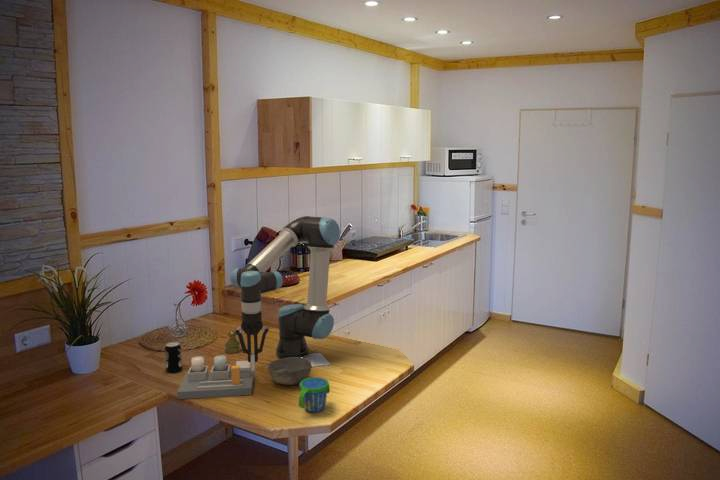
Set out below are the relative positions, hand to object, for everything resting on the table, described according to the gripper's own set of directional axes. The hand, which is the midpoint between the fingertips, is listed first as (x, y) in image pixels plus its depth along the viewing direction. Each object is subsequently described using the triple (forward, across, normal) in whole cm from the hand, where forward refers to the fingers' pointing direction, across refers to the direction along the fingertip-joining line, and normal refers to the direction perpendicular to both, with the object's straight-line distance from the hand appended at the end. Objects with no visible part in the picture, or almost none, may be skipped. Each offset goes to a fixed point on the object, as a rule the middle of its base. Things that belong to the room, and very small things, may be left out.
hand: (253, 369), depth 226 cm
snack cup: (+9, -23, +19) cm, 31 cm away
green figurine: (+9, +13, -47) cm, 50 cm away
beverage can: (+9, +36, -26) cm, 45 cm away
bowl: (+9, -14, -7) cm, 18 cm away
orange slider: (+6, +7, 0) cm, 9 cm away
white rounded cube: (+3, +23, -9) cm, 25 cm away
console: (+9, +15, -5) cm, 18 cm away
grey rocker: (+2, +5, -9) cm, 11 cm away
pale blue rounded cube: (+3, +14, -9) cm, 17 cm away
